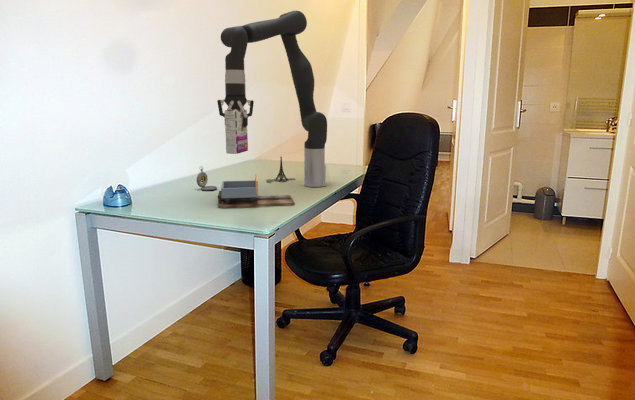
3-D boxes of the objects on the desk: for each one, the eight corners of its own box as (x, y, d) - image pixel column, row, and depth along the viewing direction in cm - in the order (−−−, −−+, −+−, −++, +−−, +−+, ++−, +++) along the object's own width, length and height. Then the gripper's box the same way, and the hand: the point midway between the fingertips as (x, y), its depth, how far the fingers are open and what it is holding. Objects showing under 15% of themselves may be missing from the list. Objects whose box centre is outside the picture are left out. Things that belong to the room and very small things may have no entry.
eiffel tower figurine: (295, 179, 226) (295, 152, 223) (298, 183, 216) (298, 155, 213) (265, 180, 223) (264, 153, 220) (267, 184, 213) (266, 155, 210)
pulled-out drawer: (257, 195, 180) (256, 174, 178) (258, 203, 165) (257, 180, 164) (223, 196, 178) (222, 175, 176) (221, 204, 163) (220, 181, 162)
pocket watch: (216, 191, 194) (215, 168, 192) (196, 191, 193) (195, 168, 191) (217, 187, 202) (216, 165, 200) (198, 187, 201) (197, 165, 199)
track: (290, 197, 182) (290, 187, 181) (294, 205, 168) (294, 194, 168) (219, 199, 177) (219, 189, 177) (218, 207, 164) (217, 197, 163)
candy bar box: (236, 150, 183) (235, 109, 179) (248, 151, 182) (247, 109, 178) (225, 153, 172) (224, 109, 169) (237, 154, 171) (236, 109, 167)
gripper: (254, 83, 176) (255, 127, 179) (216, 82, 174) (218, 126, 177) (254, 82, 169) (255, 128, 172) (215, 81, 167) (216, 127, 170)
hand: (236, 127), depth 175 cm, fingers closed on candy bar box, 6 cm apart
